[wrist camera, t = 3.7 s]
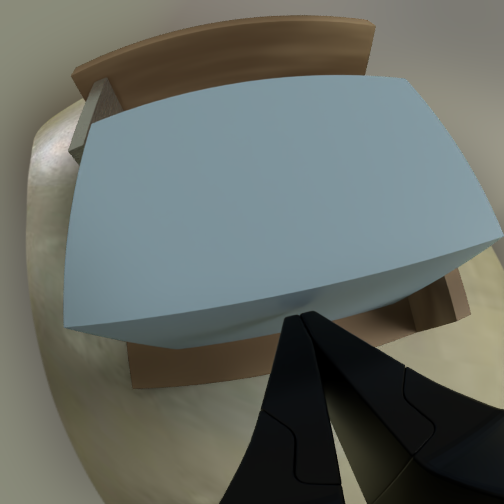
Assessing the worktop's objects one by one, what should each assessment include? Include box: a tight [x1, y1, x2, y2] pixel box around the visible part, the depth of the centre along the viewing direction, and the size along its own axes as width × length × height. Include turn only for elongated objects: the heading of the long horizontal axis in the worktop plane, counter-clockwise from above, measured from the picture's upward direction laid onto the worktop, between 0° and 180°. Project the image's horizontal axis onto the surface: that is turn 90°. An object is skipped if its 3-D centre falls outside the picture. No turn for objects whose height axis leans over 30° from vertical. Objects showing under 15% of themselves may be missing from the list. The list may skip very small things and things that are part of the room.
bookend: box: [68, 77, 124, 165], centre depth 14 cm, size 6×2×8 cm, turn 10°
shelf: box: [71, 15, 471, 389], centre depth 12 cm, size 16×17×10 cm
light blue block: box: [63, 75, 504, 349], centre depth 11 cm, size 7×12×9 cm, turn 100°
